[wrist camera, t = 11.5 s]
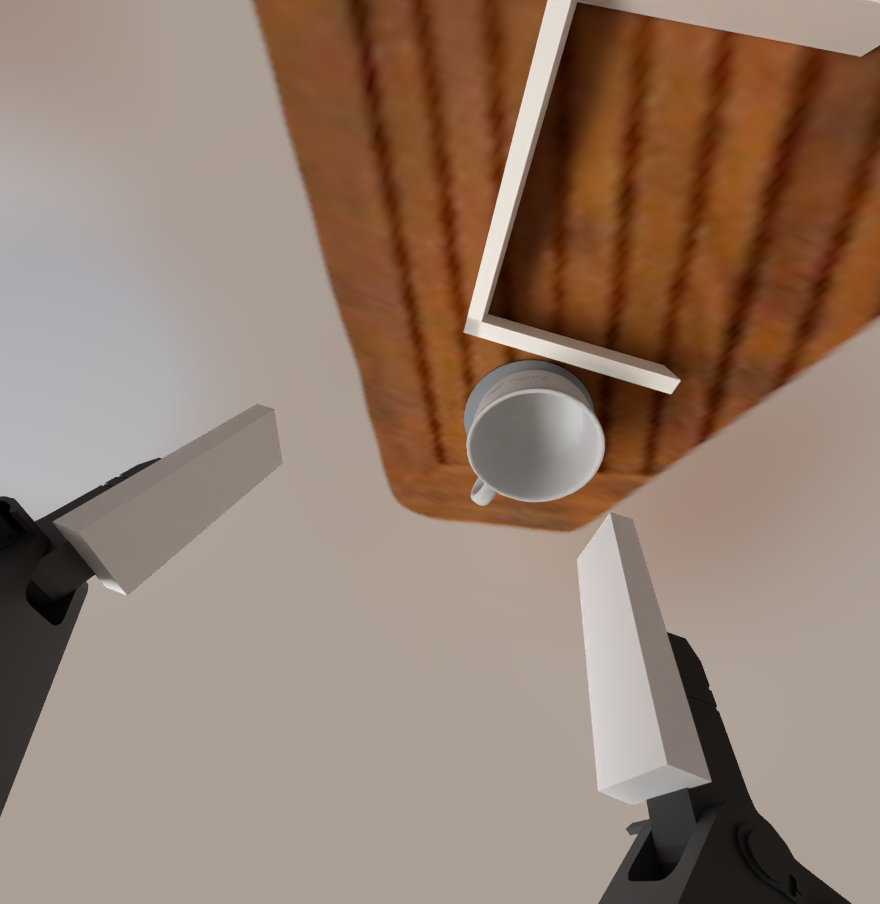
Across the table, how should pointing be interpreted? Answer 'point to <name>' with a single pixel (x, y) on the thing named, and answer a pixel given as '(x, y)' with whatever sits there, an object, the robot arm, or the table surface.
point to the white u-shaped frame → (699, 3)
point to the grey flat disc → (507, 370)
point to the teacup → (533, 439)
